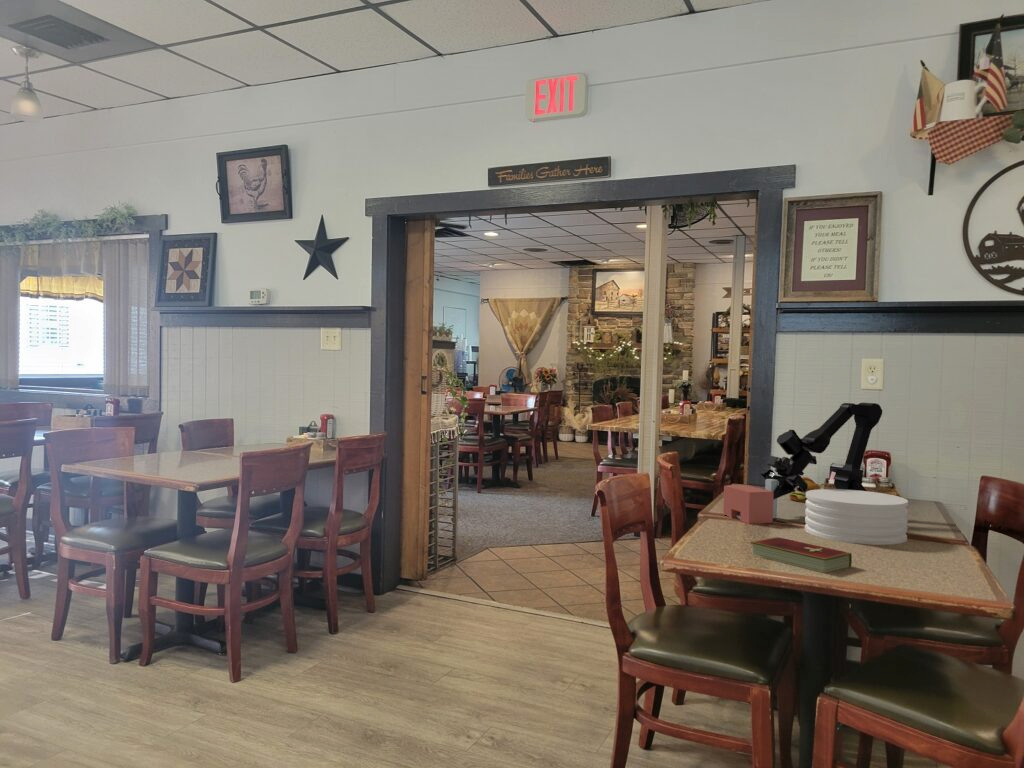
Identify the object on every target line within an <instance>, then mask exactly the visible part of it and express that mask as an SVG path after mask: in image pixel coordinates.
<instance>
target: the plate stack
mask: <svg viewBox="0 0 1024 768" xmlns="http://www.w3.org/2000/svg"><path fill="white" fill-rule="evenodd" d="M806 498H807V500H806V502H804V503H805V507H806V508H805V510H804V514H805V517H804V523H805V524H804V531H805V532H807V533H808V534H811V535H813V536H816V537H818V538H821V539H822V538H823V539H826V540H827V539H828V540H831V541H835V542H836V541H838V542H843V543H851V544H861V545H863V544H864V545H875V546H876V545H877V546H878V545H882V546H883V545H884V546H885V545H897V544H899V545H900V544H902V543H903V544H904V543H905V542H907V541H908V535H907V532H908V526H907V524H908V517H907V515H908V514H909V509H908V508H907V507H908V506H909V500H908V499H906V498H904V497H901V496H897V495H892V494H889V493H882V492H876V491H868V490H866V491H859V490H844V489H836V488H825V489H823V488H820V489H818V490H810V491H807V492H806Z"/></svg>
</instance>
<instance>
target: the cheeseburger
mask: <svg viewBox="0 0 1024 768" xmlns="http://www.w3.org/2000/svg"><path fill="white" fill-rule="evenodd" d="M801 477H802V478H803V479H804V481H805V482H806V483H807V484H808V489H807V490H806V492H807V491H810V490H818V489H821V486H820V485H819V484H817V483H816V482H815V481H814V480H813V479H812V478H809V477H806V476H801ZM798 488H799V486H798V487H796V488H795V489H794V490H795V492H792V493H789V494H788V498H789V499H790V500H793V501H795V502H800V503H806V500H807V498H806V492H805V493H803V492H799V491H798Z"/></svg>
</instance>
